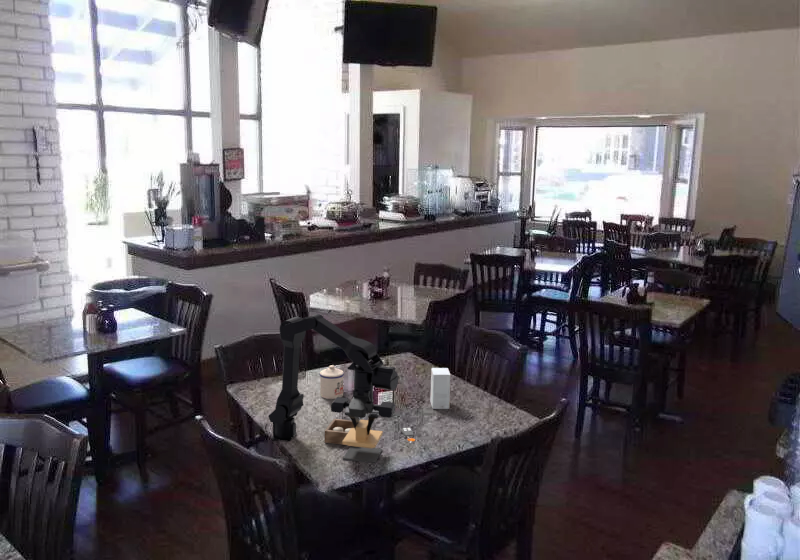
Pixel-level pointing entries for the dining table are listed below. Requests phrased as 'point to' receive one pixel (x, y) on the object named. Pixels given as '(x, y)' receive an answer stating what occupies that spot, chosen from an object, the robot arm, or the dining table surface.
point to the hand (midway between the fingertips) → (362, 433)
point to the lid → (362, 436)
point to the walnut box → (337, 431)
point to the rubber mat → (362, 454)
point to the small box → (440, 388)
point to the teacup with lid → (331, 383)
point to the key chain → (408, 434)
